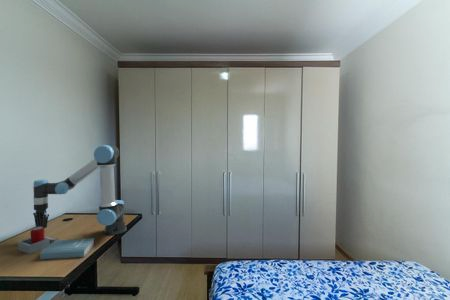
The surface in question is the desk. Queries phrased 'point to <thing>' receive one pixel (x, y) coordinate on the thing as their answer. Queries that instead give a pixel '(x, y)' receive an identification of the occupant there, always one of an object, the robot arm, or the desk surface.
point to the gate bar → (49, 238)
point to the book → (67, 248)
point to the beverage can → (37, 234)
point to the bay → (33, 245)
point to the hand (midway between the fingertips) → (41, 238)
